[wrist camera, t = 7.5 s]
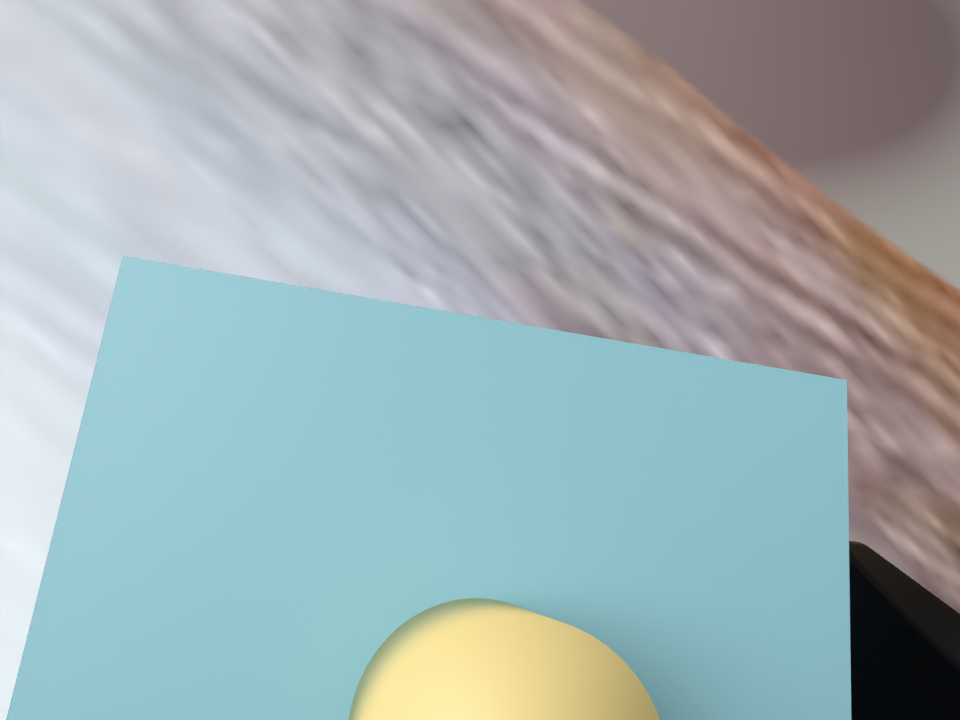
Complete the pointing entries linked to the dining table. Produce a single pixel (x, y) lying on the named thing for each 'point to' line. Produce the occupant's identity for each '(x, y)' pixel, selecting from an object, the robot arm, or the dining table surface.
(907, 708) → the robot arm
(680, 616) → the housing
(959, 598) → the dining table surface
